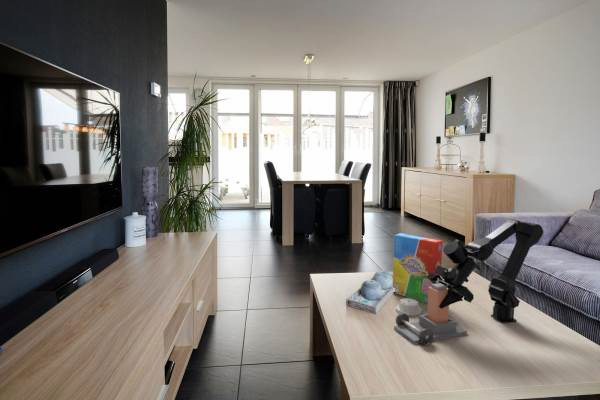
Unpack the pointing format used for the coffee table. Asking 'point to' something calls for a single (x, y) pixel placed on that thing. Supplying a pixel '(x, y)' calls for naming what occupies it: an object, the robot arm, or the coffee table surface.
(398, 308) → the mechanical component
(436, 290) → the two-tone capped block
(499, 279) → the robot arm
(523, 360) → the coffee table surface
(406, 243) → the game box
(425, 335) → the chassis
